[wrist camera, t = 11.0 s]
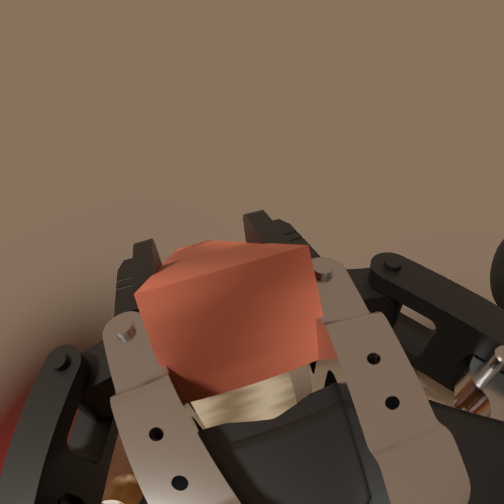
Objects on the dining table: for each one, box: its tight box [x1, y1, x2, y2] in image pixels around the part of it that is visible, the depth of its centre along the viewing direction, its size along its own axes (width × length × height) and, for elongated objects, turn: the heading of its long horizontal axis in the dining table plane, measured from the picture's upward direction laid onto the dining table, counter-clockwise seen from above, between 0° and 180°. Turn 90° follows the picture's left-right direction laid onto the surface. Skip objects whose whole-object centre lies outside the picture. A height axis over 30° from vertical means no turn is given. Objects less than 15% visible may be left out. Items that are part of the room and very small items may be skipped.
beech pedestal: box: [191, 371, 297, 428], centre depth 29 cm, size 20×16×32 cm
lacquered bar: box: [134, 240, 323, 403], centre depth 18 cm, size 4×26×2 cm, turn 13°
